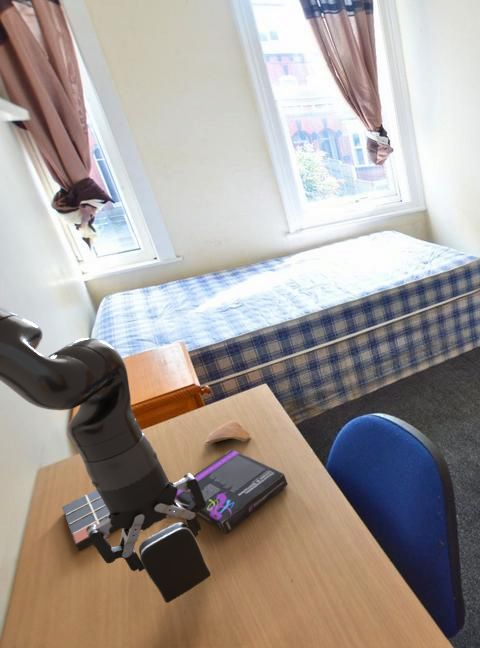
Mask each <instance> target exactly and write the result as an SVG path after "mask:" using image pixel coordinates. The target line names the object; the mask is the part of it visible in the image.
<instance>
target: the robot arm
mask: <svg viewBox="0 0 480 648" xmlns="http://www.w3.org/2000/svg"><path fill="white" fill-rule="evenodd" d="M43 336H44V335H43V330H42V329H41V327H40V326H39V325H38V324H36V323H35V322H33V321H31V320H29V319H27V318H25V317H23V316H21V315H19V314H16V313H14V312H11V311H10V310H8V309H6V308H4V307H1V306H0V382H2V383H3V384H5V386H7V387H8V388H10V389H11V391H13V392H14V393H16V394H17V395H18V396H19V397H21V398H22V399H24V400H25V401H27V402H28V403H29V404H31V405H32V406H35V407H38V408H40V409H44V410H49V411H69V410H72V409H76V408H77V407H78V410H77V411H76V413H75V414H74V416H73V417H72V418H71V420H70V421H69V423H68V425H67V433H68V436H69V438H70V440H71V442H72V443H73V445H74V447H75V449H76V450H77V453H78V454H79V456H80V458H81V459H82V461H83V464H84V467H85V470H86V473H87V475H88V476H89V479H90V480H91V484H92V485H93V487H94V488H95V490H97V491H98V493H99V494H100V496H101V498H102V500H103V501H104V503H105V505H106V507H107V508H108V510H109V512H110V515H109V519H107V520H105V521H103V522H102V523H100V524H98V525H96V524H92V525H89V526H88V527H87V529H86V531H87V534H88V536H89V539H90V540H91V542H92V545H93V547H94V548H95V549H96V551H97V552H98V554H99V555H100V556H101V558H102V559H103V561H104V562H105V563H106V564H112V563H114V562H115V561H116V560H117V559H121V558H122V559H124V560H125V562H126V564H127V565H128V567H129V569H130V571H132V572H136V571H138V572H140V573H141V572H142V571H143V570H145V568H144V566H143V564H142V562H141V559H140V556H139V555H138V553H137V551H136V550H135V545H136V543H137V542H138V539H139V536H140V532H141V531H143V532H144V531H145V530H147V529H149V528H151V527H152V526H153V525H154V524H156V523H159V522H162V521H163V520H164V519H166V518H167V516H168V515H169V516H171V517H175V518H182V519H184V521H185V524H186V525H187V526H188V527H189V529H190V530H191V532H192V533H193V535H194V537H195V538H197V537H198V536H200V533H199V532H201V531H202V525H201V523H200V521H199V519H198V516H197V515H196V514H197V512H198V511H199V510H201V509H204V508H205V507H206V502H205V500H204V497H203V495H202V492H201V490H200V487H199V485H198V482H197V480H196V479H195V477H194V475H193V474H192V473H191V472H187V473H185V474H184V475H183V478H182V479H180V480H178V481H176V482H175V483H174V482H171V481H170V480H169V478H168V476H167V473H166V472H165V470H164V468H163V466H162V464H161V462H160V460H159V458H158V454H157V451H155V450H154V447H153V445H152V444H151V442H150V441H149V439H148V438H147V437H146V436H145V434H144V432H143V430H142V428H141V426H140V423H139V422H138V420H137V418H136V416H135V414H134V412H133V410H132V402H131V401H132V399H131V391H130V384H129V383H130V382H129V377H128V371H127V370H128V369H127V366H126V364H125V361H124V359H123V357H122V355H121V354H120V353H119V351H118V350H117V349H116V348H115V347H114V346H113V345H111V344H109V343H108V342H106V341H104V340H102V339H98V338H93V337H87V338H85V337H84V338H80V339H77V340H75V341H73V342H71V343H69V344H67V345H65V346H64V347H62V348H60V349H58V350H56V351H55V352H53V353H52V354H50V355H48V356H47V355H44V354H42V353H39V352H38V351H37V349H38V348H39V346H40V344H41V342H42V340H43ZM178 490H183V491H184V492H189V493H190V495H191V498H192V500H193V502H192V503H190V504H189V505H185V504H183V503H180V502H179V501H177V500H175V498H176V495H177V492H178ZM112 526H114V527H118V528H119V529H121V537H120V540H119V543H118V545H115V546H113V547H112V545H111V544H110V542H109V541H108V540H107V538H108V537H109V536H110V534H111V533H110V532H109V529H110V528H111V527H112Z"/></svg>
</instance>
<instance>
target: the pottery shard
mask: <svg viewBox="0 0 480 648" xmlns="http://www.w3.org/2000/svg"><path fill="white" fill-rule="evenodd" d="M229 439H233V440H238V441H241V442H243V443H246V442H247V441H249V440H250V439H252V435H251V433H249V432H248V431H247V430H246V429H245V428H244V427H242V425H241V424H240V423H239V421H235V420H230V421H227V422H226V423H224V424H222V425H221V426H219V427H216V428H215V429H214V430H212V431H211V432H210V433H209V434H208V436H207V438H206V439H205V444H207V445H210V444H212V443H217V442H222V441H225V440H229Z"/></svg>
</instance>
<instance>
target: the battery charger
mask: <svg viewBox="0 0 480 648" xmlns="http://www.w3.org/2000/svg"><path fill="white" fill-rule="evenodd" d="M138 547H139V548H138V553H139V558H140V560H141V562H142V564H143V566H144V568H145V569H144V570H145V572H146V574H147V576H148V578H150V580H151V581H152V583H153V585H154V586H155V588H157V590H158V592H159V594H160V596H161V597H162V599H163V601H164V602H165V603H166V604H169V603H171V602H172V601H174V600H175V599H177V598H179V597H181V596H182V595H184V594H186V593H187V592H189V591H190V590H192V589H193V588H195V587H197V586H198V585H200V584H201V583H203V582H204V581H205V580H207V579H208V578H210V577H211V575H212V574H211V573H212V571H211V570H210V568H209V566H208V564H207V562H206V560H205V558H204V555H203V553H202V550H201V547H200V545H199V543H198V541H197V538H196V537H194V535H193V533H192V532H191V530H190V529H189V527H188V525H187V523H186V522H182V521H181V522H180V521H179V522H175V523H172V524H171V525H169V526H167V527H165V528H163V529H162V530H160V531H158V532H155V533H154V534H152V535H151V536H149V537H147V538H146V539H144V540H142V542H141V543H140V545H139V546H138Z"/></svg>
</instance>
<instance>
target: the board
mask: <svg viewBox="0 0 480 648" xmlns="http://www.w3.org/2000/svg"><path fill="white" fill-rule="evenodd" d="M61 508H62V512H63V514H64V517H65V519H66V523H67V526H68V528H69V531H70V534H71V536H72V539H73V542H74V545H75V547H76V548H77V550H78V551H81V550H83V549H85V548H86V547H88V546H90V545H93V543H92V542H91V540H90V539H89V536H88V534H87V531H86V529H87V527H88V526H89V525H92V524H96V525H98V524H100V523H102V522H103V521H105V520H107V519H109V515H110V512H109V510H108V508H107V507H106V505H105V503H104V501H103V500H102V498H101V496H100V494H99V493H98V491H97V489H95V490H92V491H91V492H89V493H87V494H84V495H83V496H81V497H79V498H77V499H75V500H72V501H70V502H68V503H67V504H65V505H62V507H61ZM118 529H120V528H118V527H114V526H112V527H111V528H110V529H109V532H110V534H111V533H113V532H115V531H117V530H118Z"/></svg>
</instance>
